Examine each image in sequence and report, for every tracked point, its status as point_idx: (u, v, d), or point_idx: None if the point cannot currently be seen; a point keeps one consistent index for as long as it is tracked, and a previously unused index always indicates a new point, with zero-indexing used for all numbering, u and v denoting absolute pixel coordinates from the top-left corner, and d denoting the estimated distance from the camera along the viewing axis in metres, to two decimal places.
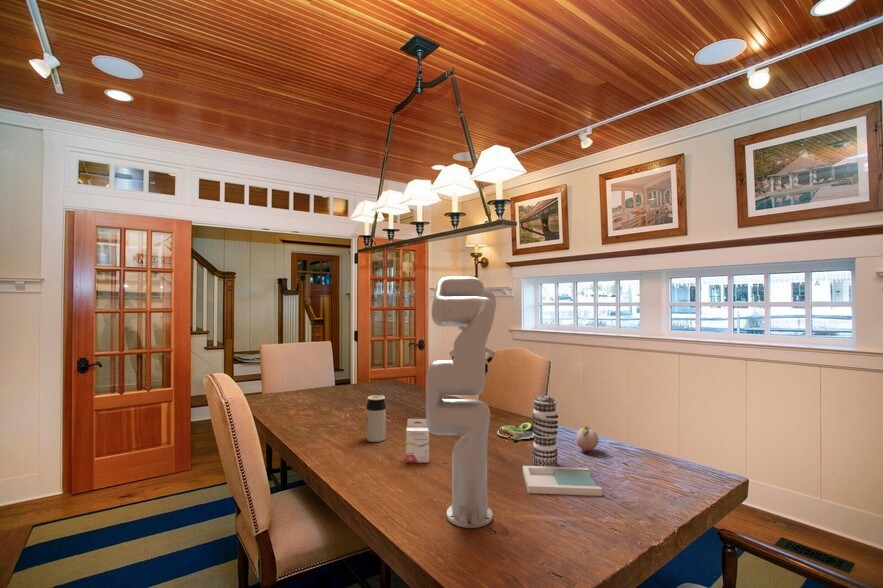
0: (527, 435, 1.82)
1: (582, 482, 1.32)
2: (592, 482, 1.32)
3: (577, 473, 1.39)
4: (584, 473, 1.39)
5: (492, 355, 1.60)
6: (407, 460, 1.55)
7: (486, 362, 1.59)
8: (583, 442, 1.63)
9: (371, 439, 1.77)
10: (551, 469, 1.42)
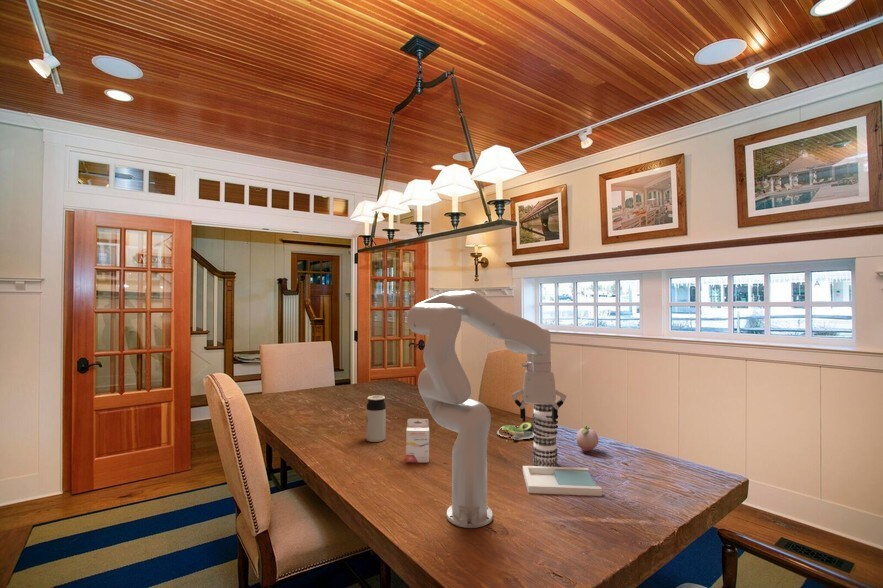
0: (527, 435, 1.82)
1: (582, 482, 1.32)
2: (592, 482, 1.32)
3: (577, 473, 1.39)
4: (584, 473, 1.39)
5: (563, 398, 1.35)
6: (407, 460, 1.55)
7: (556, 407, 1.35)
8: (583, 442, 1.63)
9: (371, 439, 1.77)
10: (551, 469, 1.42)
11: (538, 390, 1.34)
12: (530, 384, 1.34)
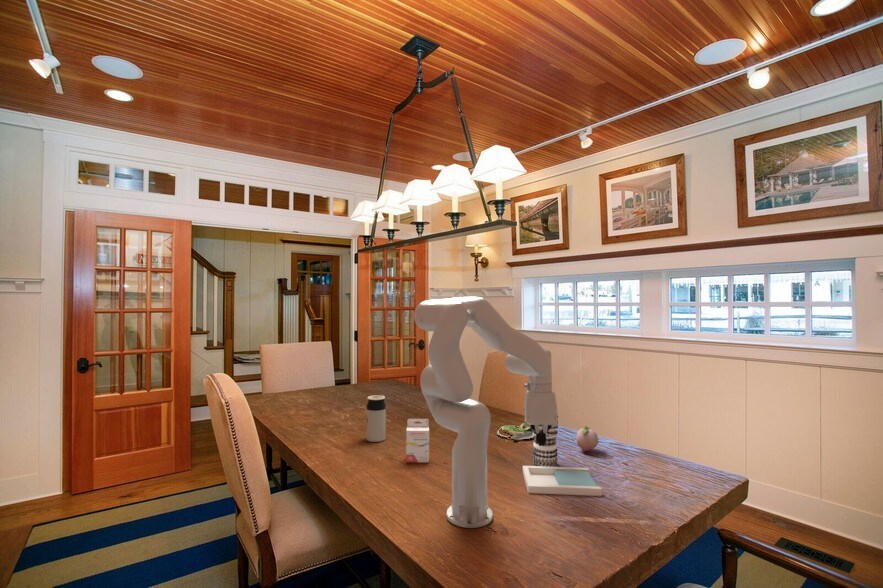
0: (527, 435, 1.82)
1: (582, 482, 1.32)
2: (592, 482, 1.32)
3: (577, 473, 1.39)
4: (584, 473, 1.39)
5: (553, 425, 1.35)
6: (407, 460, 1.55)
7: (545, 431, 1.35)
8: (583, 442, 1.63)
9: (371, 439, 1.77)
10: (551, 469, 1.42)
11: (540, 411, 1.34)
12: (531, 405, 1.34)
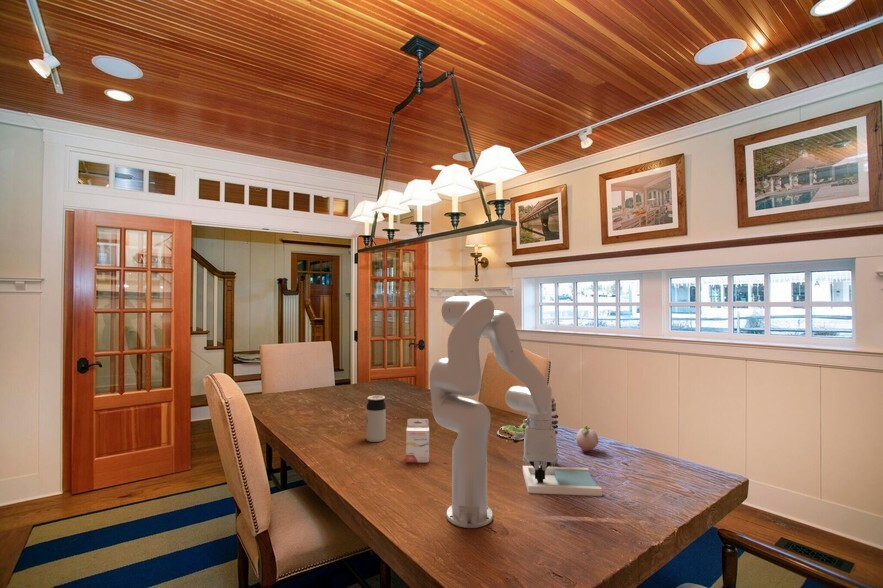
0: None
1: (582, 482, 1.32)
2: (592, 482, 1.32)
3: (577, 473, 1.39)
4: (584, 473, 1.39)
5: (552, 462, 1.35)
6: (407, 460, 1.55)
7: (544, 467, 1.34)
8: (583, 442, 1.63)
9: (371, 439, 1.77)
10: (551, 469, 1.42)
11: (539, 447, 1.33)
12: (531, 441, 1.33)
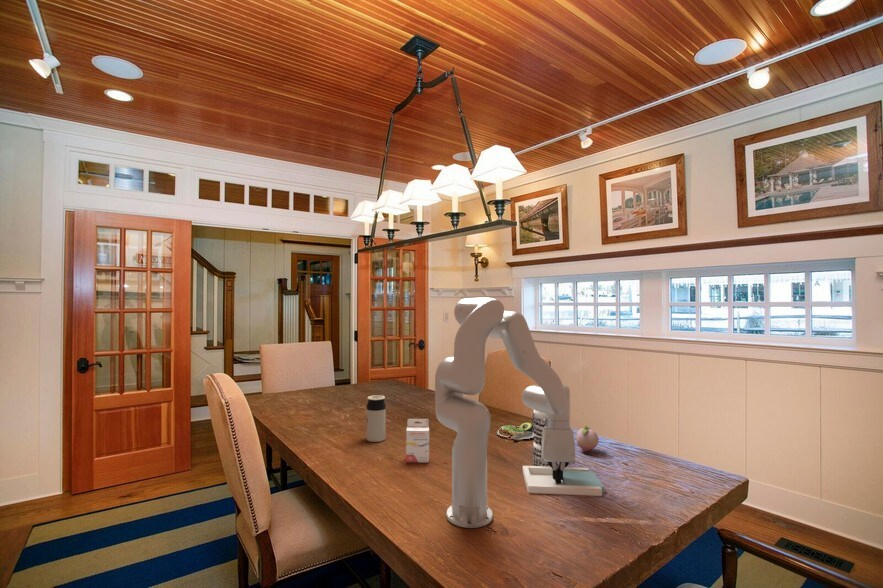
0: (527, 435, 1.82)
1: (589, 482, 1.32)
2: (598, 482, 1.32)
3: (582, 473, 1.38)
4: (590, 473, 1.39)
5: (570, 462, 1.34)
6: (407, 460, 1.55)
7: (562, 468, 1.34)
8: (583, 442, 1.63)
9: (371, 439, 1.77)
10: (551, 469, 1.42)
11: (557, 448, 1.33)
12: (549, 442, 1.33)
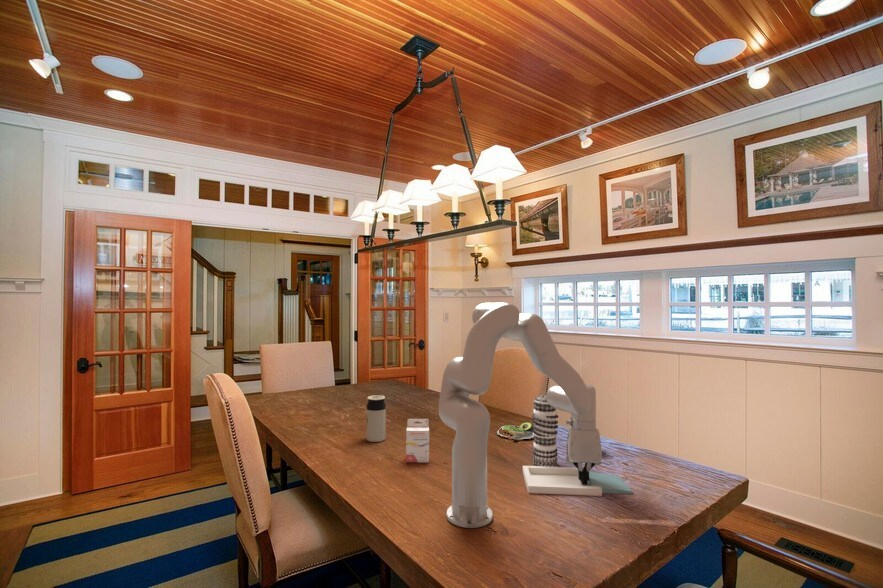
0: (527, 435, 1.82)
1: (615, 485, 1.31)
2: (625, 486, 1.31)
3: (608, 476, 1.38)
4: (615, 476, 1.38)
5: (597, 463, 1.34)
6: (407, 460, 1.55)
7: (588, 469, 1.33)
8: None
9: (371, 439, 1.77)
10: (551, 469, 1.42)
11: (584, 448, 1.32)
12: (576, 442, 1.32)
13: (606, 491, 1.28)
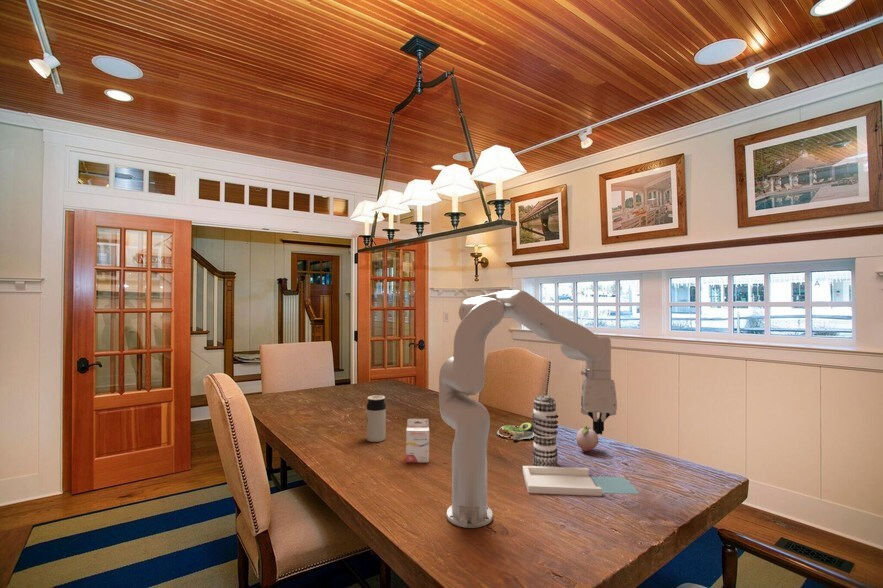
0: (527, 435, 1.82)
1: (623, 488, 1.31)
2: (632, 488, 1.31)
3: (614, 479, 1.38)
4: (621, 479, 1.38)
5: (611, 413, 1.33)
6: (407, 460, 1.55)
7: (603, 419, 1.33)
8: (583, 442, 1.63)
9: (371, 439, 1.77)
10: (551, 469, 1.42)
11: (599, 398, 1.32)
12: (590, 392, 1.32)
13: None
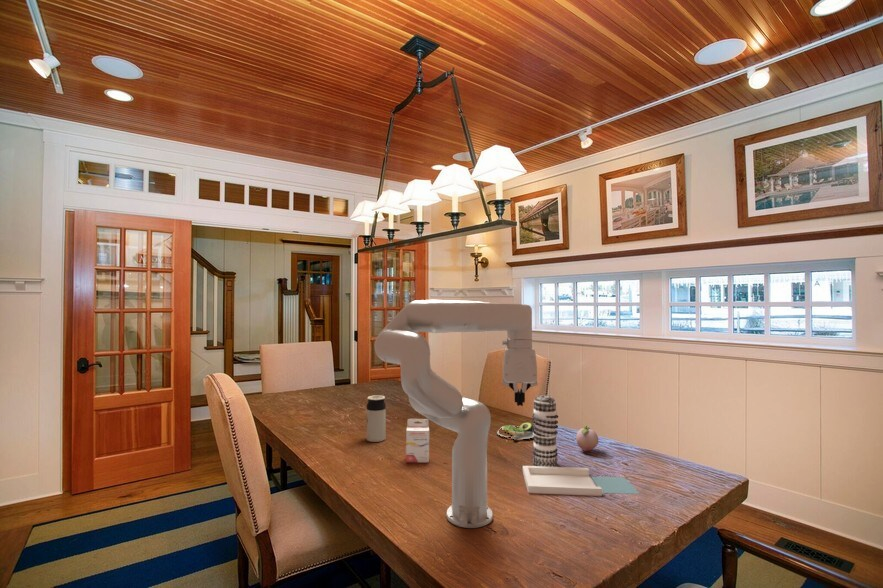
0: (527, 435, 1.82)
1: (622, 488, 1.31)
2: (632, 488, 1.31)
3: (614, 479, 1.38)
4: (621, 479, 1.38)
5: (533, 384, 1.29)
6: (407, 460, 1.55)
7: (524, 390, 1.28)
8: (583, 442, 1.63)
9: (371, 439, 1.77)
10: (551, 469, 1.42)
11: (518, 368, 1.27)
12: (510, 362, 1.28)
13: None
